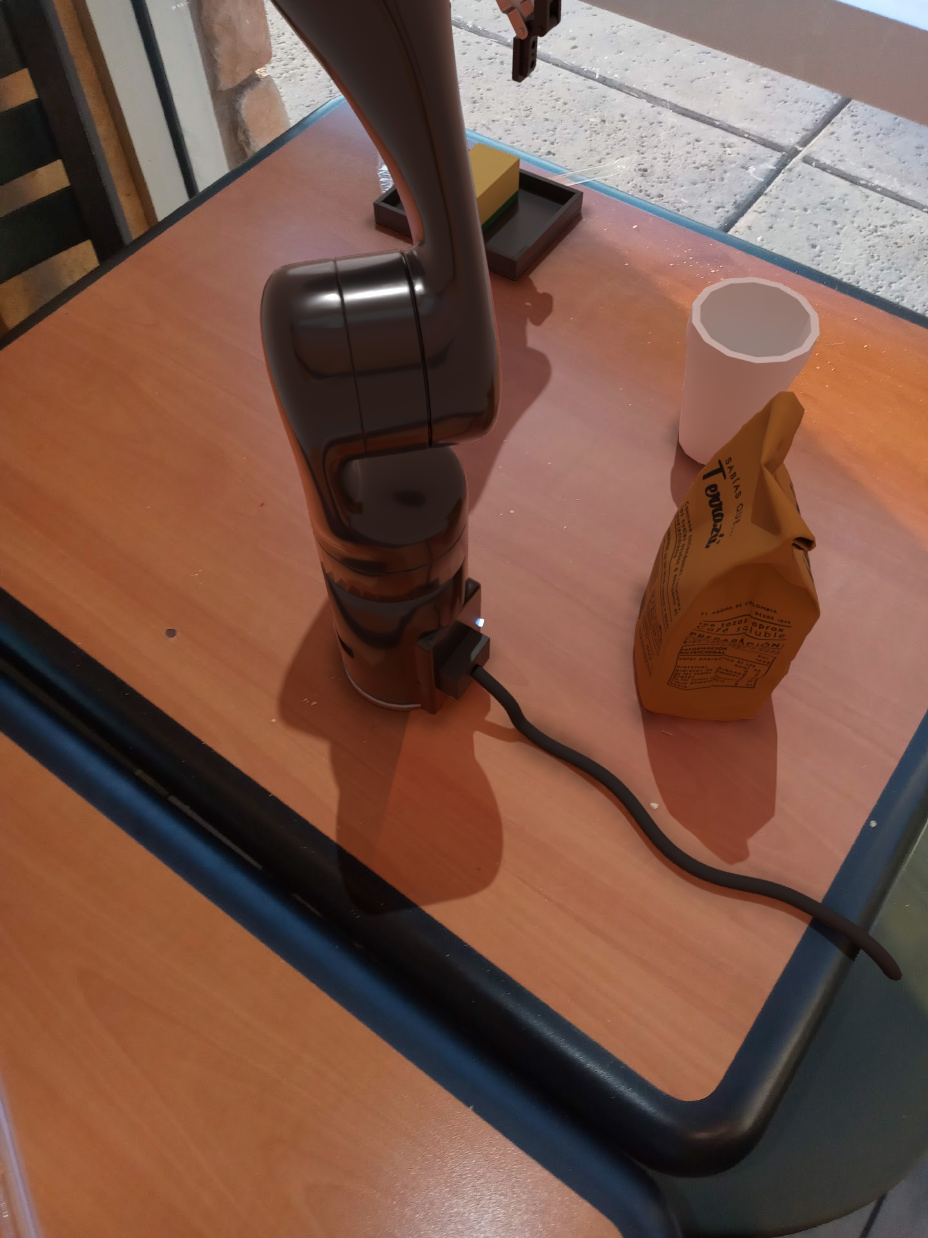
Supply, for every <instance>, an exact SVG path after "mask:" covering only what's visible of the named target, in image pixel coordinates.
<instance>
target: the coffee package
mask: <svg viewBox="0 0 928 1238" xmlns="http://www.w3.org/2000/svg"><path fill="white" fill-rule="evenodd" d="M805 411H806V410H805V408H804V406H803V405H802V403H801V402H800V401H799V399H798V397H797V395H796V394H795V392H794V391H787V392H781V391H780V392H779V393H778V394H776V395H775V396H774V397H773V398H772V399H771V400H770V401H769V402H768V403H767V404H766V405H765V406H764V408H763V409H762V410H761V411H760V412H758V413H756V414H755V415H754V416H753V417H752V418H751V419H750V420H749V421H748V422H747V423H746V424H744V425H743V426H742V428H741V429H740V430H739V431H738V432H737V433H736V435H735V436H734V437H733V438H732V439H731V440H730V441H729V442H727V443H726V444H725V445H724V446H723V447H721V448H720V449H719V450H718V451H717V452H716V453H715V454H714V456H713V457H712V458H711V460H710V461H709V462H708V463H707V464H706V465H705V464H704V467H703V468H702V469H701V470H699V471H698V473H697V474H696V477H695V478H694V480H693V482H692V483H691V484H690V486H689V488H688V490H687V492H686V495H685V496H684V497H683V499H682V500H681V502H680V504H679V506H678V508H677V510H676V512H675V514H674V516H673V518H672V520H671V522H670V524H669V526H668V527H667V529H666V530H665V533H664V535H663V536H662V539H661V542H660V545H659V546H658V547H659V548H658V550H657V553H656V556H655V559H654V561H653V565H652V567H651V568H652V569H651V571H650V576H649V577H648V578H649V579H648V581H647V585H646V589H645V590H644V592H643V595H642V598H641V602H640V606H639V610H638V616H637V619H636V623H635V625H634V637H633V648H634V661H635V669H636V675H637V676H636V677H637V685H638V690H639V695H640V696H639V697H640V699H641V704H642V706H643V707H644V708H645V709H646V710H648V711H650V712H652V713H655V714H662V715H671V716H676V717H680V718H685V719H689V720H700V721H710V720H712V721H714V720H715V721H721V722H723V721H725V722H727V721H728V722H730V721H731V722H732V721H739V720H751V719H754V718H756V717H757V716H758V714H759V713H760V711H761V709H762V707H763V706H764V704H765V703H766V701H767V700H768V699H769V698H770V697H771V696H772V695H773V692H774V690H775V689H776V688H777V687H778V685H780V683H781V682H782V680H783V679H784V678H785V677H786V676H787V675H788V674H789V671H790V667H791V664H792V662H793V661H794V660H795V659H796V657H797V655H798V653H799V651H800V650H801V648H802V646H803V644H804V642H805V640H806V639H807V636H808V635H809V634H810V633H811V632H812V630H813V628H814V627H815V626H816V624H817V622H818V621H819V619H820V617H821V608H820V607H821V606H820V602H819V597H818V593H817V589H816V585H815V580H814V577H813V573H812V566H811V560H810V554H809V552H812V551H813V550H814V549H815V548H816V547H817V541H816V537H815V535H814V533H813V532H812V531H811V529H810V528H809V526H808V525H807V523H806V521H805V520H804V519H803V517H802V515H801V514H802V513H801V510H800V506H799V503H798V500H797V495H796V491H795V487H794V483H793V481H792V479H791V475H790V473H789V470H788V468H787V466H786V465H785V463H784V461H785V460H786V458H787V455H788V454H789V452H790V451H791V450H790V449H791V447H792V444H793V442H794V438H795V435H796V433H797V431H798V429H799V428H800V425H801V423H802V420H803V418H804V415H805Z"/></svg>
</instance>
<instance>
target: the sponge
mask: <svg viewBox="0 0 928 1238" xmlns="http://www.w3.org/2000/svg"><path fill="white" fill-rule="evenodd" d="M469 155H470V161H471V167H472V173H473V179H474V185H475V191H476V197H477V203H478V209H479V216H480V222H481V228H482V233H483V232H484V231H485V230H486V229H487V228H488V227H489V226H490V225H491V224H492V223H493V222H494V221H495V220H496V219H497V218H498V217H499V216H500V215H501V214H502V213H503V212H504V211H505V210H507V209H508V208H509V207H510V206H511V205H512V204H513V203H514V202H515V201H516V200H517V199H518V188H519V168H521V167H520V163H521V157H519V156H516V155H515V154H511V153H510V152H509V153H508V152H506V151H503V150H501V149H498V148H495V147H492V146H489V145H487V144H484V143H482V142H477V143H476V144H475V145H474V146H473V147H471V149H470V150H469Z"/></svg>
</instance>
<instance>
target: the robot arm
mask: <svg viewBox="0 0 928 1238" xmlns="http://www.w3.org/2000/svg"><path fill="white" fill-rule="evenodd" d="M269 2H270V4H271V5H272V6H273V7H274V9H275V10H276V11H277V12H278V14H279V15H280V16H281V17H282V18H283V20H284V21H285V22H286V24H287V25H288V26H289V28H290V29H291V30H292V31H293V32H294V34H295V35H296V37H297V38H298V39H299V40H300V41H301V43H302V44H303V45H304V46H305V48H306V49H307V50H308V51H309V53H310V54H311V55H312V57H313V58H314V59H315V61H317V63H318V65H320V66H321V68H322V69H323V70H324V72H325V73H326V74H327V76H328V77H329V78H330V80H331V81H332V83H333V84H334V86H336V88H337V89H338V91H339V92H340V93H341V95H342V96H343V98H344V99H345V100H346V102H347V103H348V105H349V106H350V108H351V110H352V111H353V113H354V114H355V116H356V117H357V119H358V120H359V123H360V125H362V127H363V128H364V131H365V132H366V134H367V135H368V137H369V138H370V140H371V142H372V144H373V145H374V146H375V149H376V150H377V152H378V154H379V155H380V157H381V159H382V161H383V163H384V165H385V167H386V169H387V171H388V173H389V176H391V179H392V182H393V185H394V184H395V187H396V189H397V192H398V194H399V196H400V199H401V201H402V204H403V206H404V209H405V212H406V215H407V219H408V222H409V226H410V229H411V234H412V245H411V246H410V247H404V248H400V249H387V250H379V251H373V252H365V253H357V254H349V255H341V256H335V257H334V258H333V257H327V258H320V259H313V260H305V261H299V262H293V263H292V262H291V263H288V264H285V265H281V266H279V267H278V268H276V269H274V270H273V271H272V272H271V274H269V276H268V278H267V280H266V282H265V283H264V285H263V289H262V293H261V298H260V301H259V334H260V342H261V346H262V352H263V353H262V354H263V358H264V364H265V369H266V373H267V377H268V380H269V384H270V387H271V391H272V394H273V398H274V401H275V404H276V408H277V410H278V413H279V416H280V419H281V423H282V425H283V428H284V432H285V434H286V436H287V440H288V442H289V445H290V449H291V452H292V455H293V457H294V458H293V459H294V460H295V464H296V468H297V470H298V474H299V477H300V481H301V486H302V490H303V494H304V498H305V503H306V509H307V513H308V517H309V522H310V527H311V529H312V534H313V539H314V542H315V546H316V551H317V554H318V559H319V563H320V567H321V571H322V576H323V580H324V584H325V587H326V592H327V596H328V600H329V605H330V608H331V612H329V613H330V615H332V616H333V617H332V616H330V618H331V621H332V622H331V623H332V624H333V625H332V626H333V628H334V632H335V634H336V635H335V636H336V640H337V643H338V646H339V650H340V653H341V657H342V662H343V667H344V671H345V674H346V676H347V679H348V681H349V683H350V684H351V686H352V687H353V688H354V689H355V691H356V692H357V693H358V694H359V695H360V696H361V697H363V698H364V699H366V700H367V701H368V702H370V703H372V704H374V705H376V706H378V707H381V708H384V709H387V710H393V711H401V712H402V711H403V712H405V711H408V712H409V711H417V710H423V711H425V712H427V713H428V714H430V715H433V716H434V715H437V714H438V713H439V712H440V710H441V708H442V707H443V706H444V704H445V703H446V702H447V701H448V699H449V698H450V697H451V698H452V699H454V700H456V701H459V700H460V699H461V698H462V696H463V695H464V694H465V692H466V691H467V689H468V688H469V687H470V685H471V684H472V683H473V682H474V681H475V682H476V683H477V684H479V686H480V687H482V688H483V689H484V690H485V691H486V692H488V694H490V695H491V696H492V697H493V698H494V700H496V702H498V703H499V704H500V706H501V707H502V708H503V710H504V711H505V712H506V714H507V717H508V718H509V720H510V722H511V724H512V725H513V727H514V728H515V729H516V730H517V732H519V733H520V734H521V735H522V736H523V737H525V738H526V739H527V740H528V741H529V742H531V743H532V744H533V745H535V746H536V747H538V748H539V749H540V750H542V751H544V752H546V753H547V754H549V755H552V756H553V757H555V758H557V759H559V760H561V761H563V762H564V763H567V764H568V765H571V766H573V767H575V768H576V769H578V770H580V771H582V772H584V773H585V774H587V775H588V776H590V777H591V778H593V779H594V780H596V781H597V782H599V783H600V784H601V785H602V786H604V787H605V788H606V789H607V790H608V791H610V793H612V794H613V796H614V797H615V798H616V799H617V800H618V801H619V802H620V803H621V804H622V806H623V807H624V808H625V810H626V811H627V812H628V813H629V815H630V816H631V817H632V819H633V820H634V822H635V823H636V824H637V826H638V827H639V828H640V829H641V831H642V832H643V834H644V835H645V836H646V838H647V839H648V840H649V841H650V842H651V844H652V845H653V847H655V848H656V849H657V850H658V851H659V852H660V853H661V855H663V856H664V857H665V858H666V859H667V860H669V861H670V863H672V864H674V865H675V866H676V867H678V868H679V869H680V870H682V871H684V872H686V873H687V874H689V875H691V876H693V877H695V878H697V879H698V880H701V881H704V882H706V883H708V884H712V885H714V886H718V887H722V888H725V889H729V890H734V891H740V892H744V893H749V894H754V895H758V896H763V897H765V898H766V897H767V898H769V899H773V900H777V901H778V902H782V903H784V904H786V905H788V906H790V907H793V908H795V909H797V910H799V911H801V912H802V913H805V914H806V915H809V916H810V917H812V918H814V919H816V920H818V921H819V922H821V923H823V924H825V925H826V926H827V927H829V928H831V929H832V930H834V931H836V932H838V934H840V935H842V936H843V937H844V938H846V939H848V940H849V941H850V942H852V943H853V944H854V945H855V946H857V947H858V948H859V949H860V950H861V951H863V952H864V953H865V954H866V956H868V957H869V958H870V959H871V960H872V962H874V963H875V964H876V965H877V967H878V968H879V969H880V970H881V972H882V973H883V974H884V975H885V977H887V979H889V980H891V981H894V982H898V981H901V980H902V977H903V974H902V971H901V968H900V965H898V963H897V961H896V960H895V959H894V957H893V956H892V955H891V954H890V953H889V952H888V951H887V949H886V948H885V947H884V946H883V945H882V944H881V943H879V942H878V941H877V940H876V938H874V937H873V936H872V935H870V934H869V933H868V932H867V931H865V930H864V929H863V928H861V926H859V925H857V924H856V923H854V921H851V920H850V919H848V918H847V917H845V916H844V915H842V914H840V913H839V912H837V911H836V910H834V909H832V908H830V907H828V906H827V905H825V904H823V903H821V902H819V901H818V900H816V899H814V898H812V897H810V896H808V895H807V894H805V893H803V892H801V891H798V890H795V889H793V888H791V887H789V886H786V885H784V884H781V883H777V882H775V881H772V880H766V879H763V878H758V877H755V876H754V877H753V876H748V875H744V874H738V873H733V872H729V871H725V870H722V869H719V868H715V867H713V866H711V865H708V864H706V863H704V862H702V861H699V860H697V859H696V858H694V857H692V856H691V855H689V854H688V853H687V852H685V851H683V850H682V849H681V848H680V847H678V846H677V845H676V844H675V843H674V842H673V841H672V840H671V839H670V838H669V837H668V836H667V835H666V834H665V833H664V832H663V830H661V828H660V827H659V826H658V824H657V823H656V821H654V819H653V818H652V817H651V815H650V814H649V812H648V811H647V809H645V807H644V805H643V804H642V803H641V802H640V800H639V799H638V798H637V796H636V795H634V793H633V792H632V791H631V790H630V788H629V787H628V786H627V785H625V784H624V782H623V781H621V780H620V779H619V778H618V777H617V776H616V775H615V774H614V773H613V772H611V771H610V770H608V769H607V768H605V767H604V766H602V764H600V763H598V762H597V761H595V760H593V758H590V757H589V756H586V755H585V754H583V753H581V752H579V751H576V750H574V749H573V748H572V747H571V748H570V747H569V746H568V745H565V744H563V743H561V742H559V741H557V740H555V739H554V738H552V737H550V736H548V735H547V734H545V733H544V732H543V731H541V730H540V729H539V728H537V727H536V726H535V725H534V724H533V723H532V722H530V720H528V719H527V717H526V716H525V715H524V713H523V711H522V709H521V706H520V704H519V702H518V701H517V700H516V698H514V696H513V695H512V694H511V693H510V691H509V690H508V689H507V688H506V687H505V686H504V685H503V684H502V683H500V682H499V681H498V680H497V679H496V678H495V677H494V676H492V674H490V673H489V672H488V671H487V670H486V669H485V668H484V667H485V665H486V664H487V663H488V661H489V660H490V652H491V651H490V650H491V638H490V637H489V636H487V635H485V634H484V633H483V632H481V631H482V630H481V629H482V627H483V625H484V621H485V619H483V618H482V584H481V582H479V581H478V580H476V579H474V578H472V577H471V576H469V502H470V499H469V497H470V496H469V495H470V494H469V492H470V491H469V483H468V476H467V472H466V470H465V467H464V465H463V463H462V461H461V458H460V456H459V455H458V453H457V452H456V451H455V450H454V448H453V447H452V446H458V445H463V444H468V443H473V442H476V441H480V440H482V439H484V438H486V437H487V436H489V435H490V434H491V433H492V431H493V430H494V428H495V427H496V424H497V422H498V419H499V415H500V411H501V407H502V394H503V393H502V392H503V372H502V371H503V370H502V369H503V368H502V353H501V344H500V335H499V330H498V324H497V315H496V309H495V302H494V301H495V300H494V294H493V288H492V282H491V277H490V270H488V264H487V258H486V252H485V246H484V240H483V234H482V228H481V222H480V216H479V209H478V203H477V197H476V191H475V185H474V179H473V173H472V167H471V161H470V155H469V149H470V148H469V143H468V137H467V132H466V131H467V130H466V126H465V125H466V124H465V118H464V113H463V105H462V97H461V92H460V85H459V84H460V83H459V77H458V76H459V75H458V70H457V69H458V68H457V60H456V52H455V50H456V49H455V42H454V33H453V23H452V2H451V1H450V0H269ZM495 2H496V5H497V7H498V8H499V10H500V13H502V14H504V15H506V16H507V19H508V20H509V23H510V24H511V26H512V28H513V32H514V33H515V35H514V36H513V37H512V63H511V80H512V81H513V82H516V83H518V84H521V83H522V82H523V81H525V80H526V79H527V78H528V77H529V76H530V74H532V73H533V72H534V71H535V69H536V66H537V58H538V56H537V55H538V40H539V38H544V37H545V36H546V35H548V33H549V32H551V31H552V30H553V29H554V28H556V27H557V26H559V25H560V23H561V20H562V0H495Z"/></svg>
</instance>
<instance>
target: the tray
mask: <svg viewBox="0 0 928 1238" xmlns="http://www.w3.org/2000/svg"><path fill="white" fill-rule="evenodd" d="M468 149H469V150H471V149H470V148H468ZM584 193H585V192H584V191H582V190H579V189H577V188H574V187H571V186H568V185H566V184H564V183H561V182H558V181H555V180H553V179H550V178H548V177H545V176H542V175H540V174H537V173H535V172H531V171H528V170H526V169H523V168H521V167H519V188H518V199H517V200H516V201H515V202H514V203H513V204H512V205H511V206H510V207H509V208H508V209H507V210H505V211H504V212H503V213H502V214H501V215H500V216H499V217H498V218H497V219H496V220H495V221H494V222H493V223H492V224H491V225H490V226H489V227H488V228H487V229H486V230H485V231H484V232H483V233H482V234H483V240H484V246H485V252H486V258H487V264H488V270H489V272H490V271H491V272H493V273H495V274H497V275H500V276H503V277H505V278H508V279H510V280H513V281H514V282H516V281H517V280H518V279H519V278H520V277H521V276H522V275H523V274H524V273H525V272H526V271H527V269H529V267H530V266H532V264H533V263H535V261H536V260H537V259H538V258H539V257H540V256H541V255H542V254H543V253H544V252H545V251H546V250H547V248H549V247H550V246H551V244H552V243H553V242H554V241H555V240H556V239H557V238H558V237H559V236H560V235H561V234H562V233H563V232H564V231H565V230H566V229H567V228H568V226H570V225H571V224H572V222H573V221H574V220H575V219H576V218H577V217H578V216H579V215H580V214H581V213H582V208H583V201H584ZM372 204H373V213H374V214H373V216H374V221H375V224H378V225H380V226H382V227H386V228H387V229H390V230H393V231H394V232H397V233H400V234H403V235H404V236H408V237H409V238H412V234H411V229H410V226H409V222H408V219H407V215H406V212H405V209H404V206H403V204H402V201H401V199H400V196H399V194H398V192H397V189H396V187H395V184H394V183H393V184H392V186H391V187H389V188H388V189H387V190H386V191H385V192H384V193H382V194H381V195H380V196H379V197H378V198H376V199H375V200H374V201H373V202H372Z"/></svg>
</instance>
